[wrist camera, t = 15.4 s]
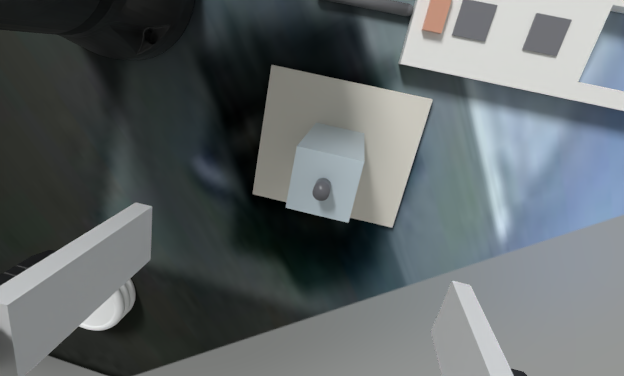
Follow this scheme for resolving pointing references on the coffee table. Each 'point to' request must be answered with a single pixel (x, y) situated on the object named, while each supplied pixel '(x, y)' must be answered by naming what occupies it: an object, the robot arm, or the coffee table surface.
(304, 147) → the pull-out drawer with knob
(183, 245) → the coffee table surface
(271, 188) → the rubber mat
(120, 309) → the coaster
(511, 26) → the power strip
